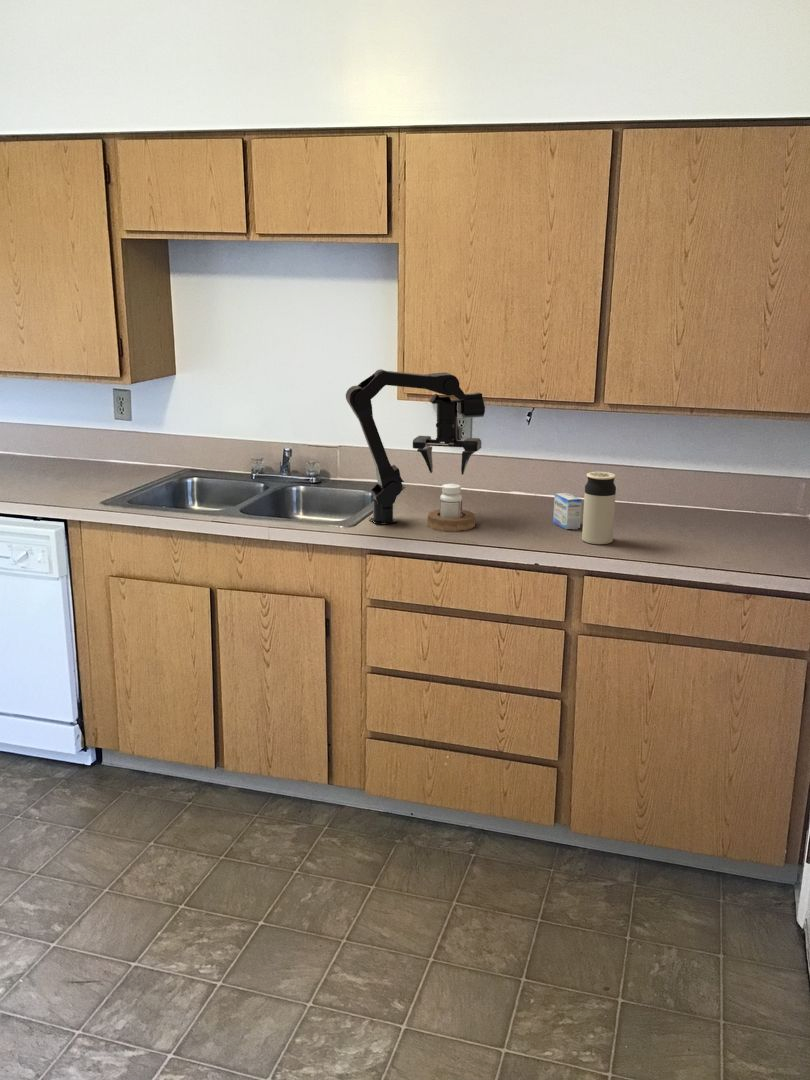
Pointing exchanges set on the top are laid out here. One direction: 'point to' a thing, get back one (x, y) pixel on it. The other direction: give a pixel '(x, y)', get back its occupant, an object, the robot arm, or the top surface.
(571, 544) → the top surface
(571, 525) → the medicine box
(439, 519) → the walnut ring
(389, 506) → the robot arm
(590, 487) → the travel mug
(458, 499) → the pill bottle
